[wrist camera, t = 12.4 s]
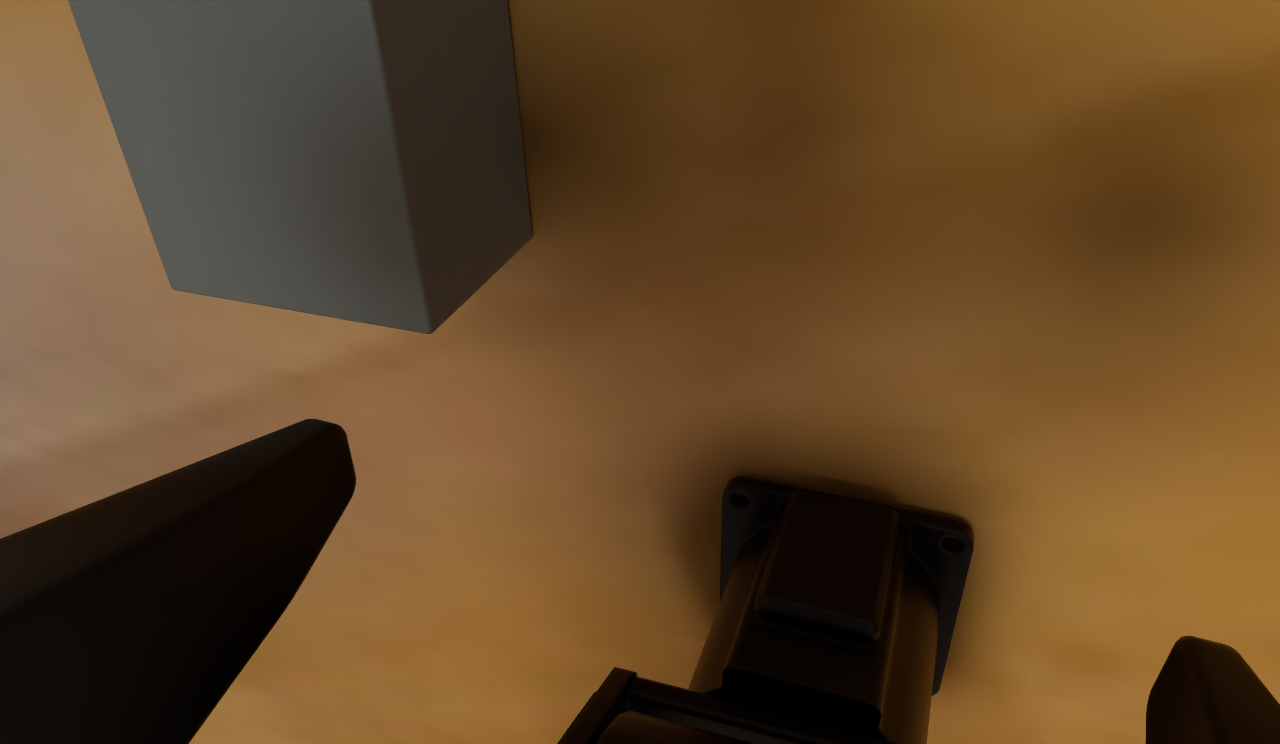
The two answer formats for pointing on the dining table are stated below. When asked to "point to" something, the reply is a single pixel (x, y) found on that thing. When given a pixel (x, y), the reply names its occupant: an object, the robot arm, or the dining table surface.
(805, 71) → the dining table surface
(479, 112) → the base block
